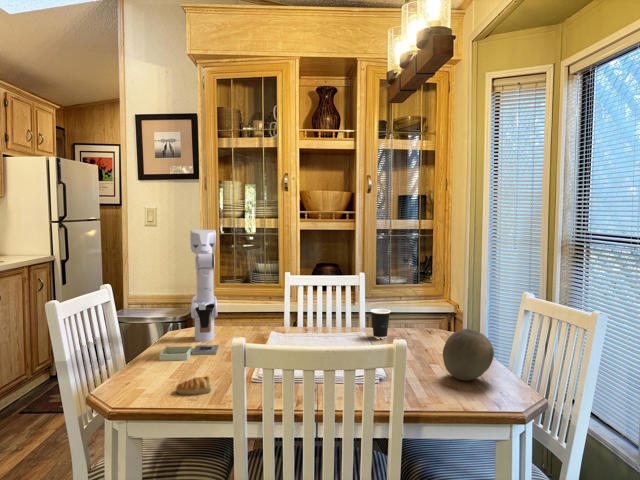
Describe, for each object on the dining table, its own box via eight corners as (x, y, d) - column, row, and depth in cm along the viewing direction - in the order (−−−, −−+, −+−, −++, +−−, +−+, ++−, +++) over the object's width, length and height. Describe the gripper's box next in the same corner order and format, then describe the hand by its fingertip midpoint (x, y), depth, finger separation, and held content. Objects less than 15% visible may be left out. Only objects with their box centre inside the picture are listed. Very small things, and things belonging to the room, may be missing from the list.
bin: (166, 355, 161) (166, 346, 161) (192, 354, 162) (192, 346, 162) (159, 363, 152) (159, 354, 152) (187, 362, 153) (187, 353, 153)
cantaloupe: (459, 390, 131) (460, 337, 130) (434, 373, 144) (434, 325, 143) (502, 385, 134) (503, 334, 134) (473, 369, 148) (474, 323, 147)
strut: (201, 330, 164) (201, 310, 164) (211, 330, 164) (210, 310, 164) (199, 332, 161) (199, 312, 160) (209, 332, 161) (209, 312, 161)
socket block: (196, 350, 167) (196, 345, 167) (218, 350, 167) (218, 345, 167) (192, 357, 159) (192, 352, 159) (215, 357, 159) (215, 351, 159)
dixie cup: (387, 341, 181) (388, 313, 180) (368, 339, 183) (368, 311, 183) (391, 336, 188) (392, 309, 187) (372, 334, 191) (373, 308, 190)
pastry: (177, 398, 124) (177, 384, 124) (175, 389, 131) (174, 376, 130) (213, 393, 128) (212, 379, 128) (209, 385, 134) (208, 372, 134)
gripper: (197, 284, 169) (197, 321, 169) (189, 291, 154) (189, 331, 155) (216, 284, 169) (217, 321, 170) (211, 291, 155) (211, 331, 156)
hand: (205, 326), depth 163 cm, fingers closed on strut, 3 cm apart
